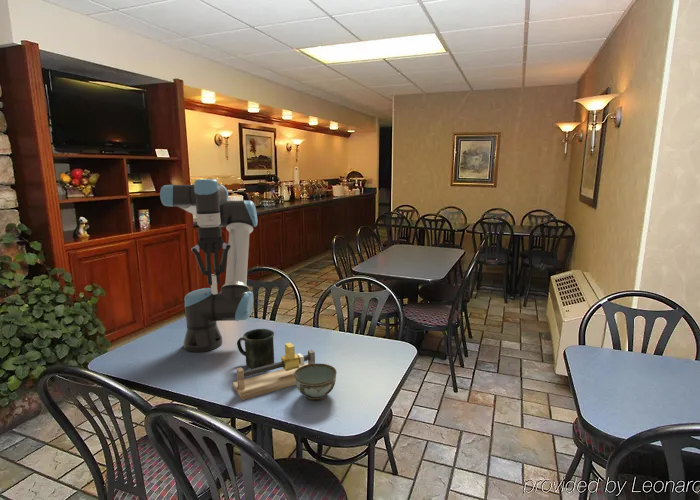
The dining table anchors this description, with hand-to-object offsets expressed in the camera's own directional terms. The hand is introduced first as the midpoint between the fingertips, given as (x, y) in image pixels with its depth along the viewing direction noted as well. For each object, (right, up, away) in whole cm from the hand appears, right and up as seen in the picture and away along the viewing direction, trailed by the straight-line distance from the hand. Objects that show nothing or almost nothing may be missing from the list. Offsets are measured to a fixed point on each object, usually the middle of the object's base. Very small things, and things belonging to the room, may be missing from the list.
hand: (214, 293), depth 146 cm
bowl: (+36, -32, -11) cm, 49 cm away
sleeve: (+26, -26, 0) cm, 37 cm away
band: (+30, -25, +1) cm, 39 cm away
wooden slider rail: (+22, -30, -2) cm, 38 cm away
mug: (+12, -28, +11) cm, 32 cm away
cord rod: (+22, -25, -3) cm, 34 cm away
